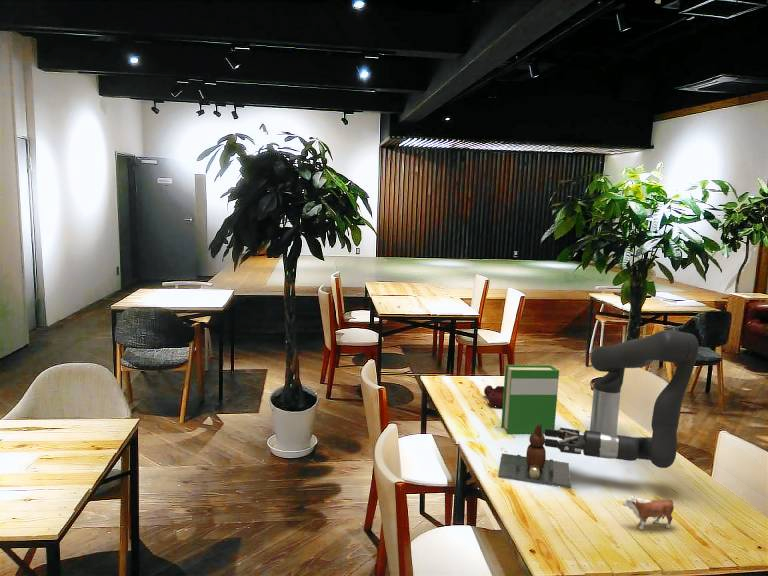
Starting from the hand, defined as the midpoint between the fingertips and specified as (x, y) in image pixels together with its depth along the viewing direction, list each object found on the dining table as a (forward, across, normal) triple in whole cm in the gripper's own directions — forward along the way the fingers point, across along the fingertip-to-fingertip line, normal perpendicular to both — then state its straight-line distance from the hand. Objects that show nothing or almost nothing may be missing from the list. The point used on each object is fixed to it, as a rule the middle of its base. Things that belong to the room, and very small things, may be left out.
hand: (544, 437), depth 177 cm
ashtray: (+16, -64, +12) cm, 67 cm away
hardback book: (+6, -35, +12) cm, 37 cm away
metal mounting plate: (+2, 0, +12) cm, 12 cm away
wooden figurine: (+2, 0, +11) cm, 11 cm away
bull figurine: (-27, +23, +12) cm, 37 cm away
